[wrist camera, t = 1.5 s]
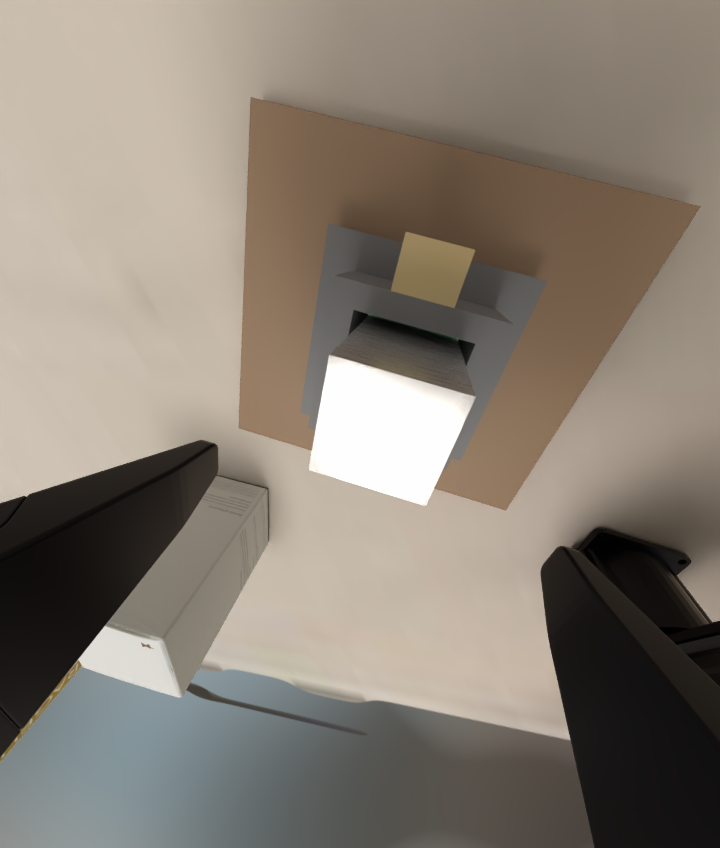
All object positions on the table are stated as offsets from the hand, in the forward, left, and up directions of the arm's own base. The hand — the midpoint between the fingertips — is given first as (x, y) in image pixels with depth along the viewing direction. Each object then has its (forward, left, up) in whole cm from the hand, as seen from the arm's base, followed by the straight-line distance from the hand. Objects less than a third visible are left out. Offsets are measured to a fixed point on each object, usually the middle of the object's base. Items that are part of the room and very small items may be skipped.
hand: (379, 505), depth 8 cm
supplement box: (+11, +18, -14) cm, 25 cm away
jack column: (0, -1, -12) cm, 12 cm away
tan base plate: (0, -1, -13) cm, 13 cm away
